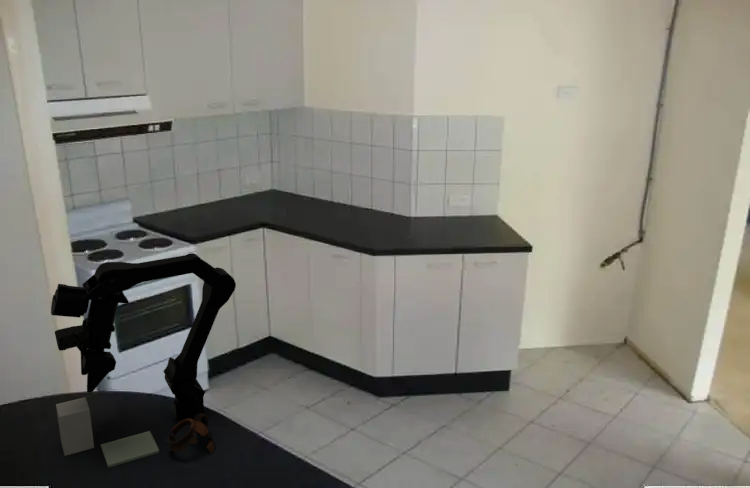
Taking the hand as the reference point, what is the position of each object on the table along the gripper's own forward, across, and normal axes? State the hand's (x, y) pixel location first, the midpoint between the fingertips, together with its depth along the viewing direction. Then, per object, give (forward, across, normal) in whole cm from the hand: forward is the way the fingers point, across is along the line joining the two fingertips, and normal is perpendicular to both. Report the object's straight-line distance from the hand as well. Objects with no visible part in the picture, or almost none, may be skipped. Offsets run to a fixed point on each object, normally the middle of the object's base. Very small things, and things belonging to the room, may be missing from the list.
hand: (86, 383), depth 144 cm
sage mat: (+13, +7, +11) cm, 18 cm away
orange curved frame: (+9, +13, +24) cm, 29 cm away
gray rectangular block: (+16, -1, +1) cm, 16 cm away
